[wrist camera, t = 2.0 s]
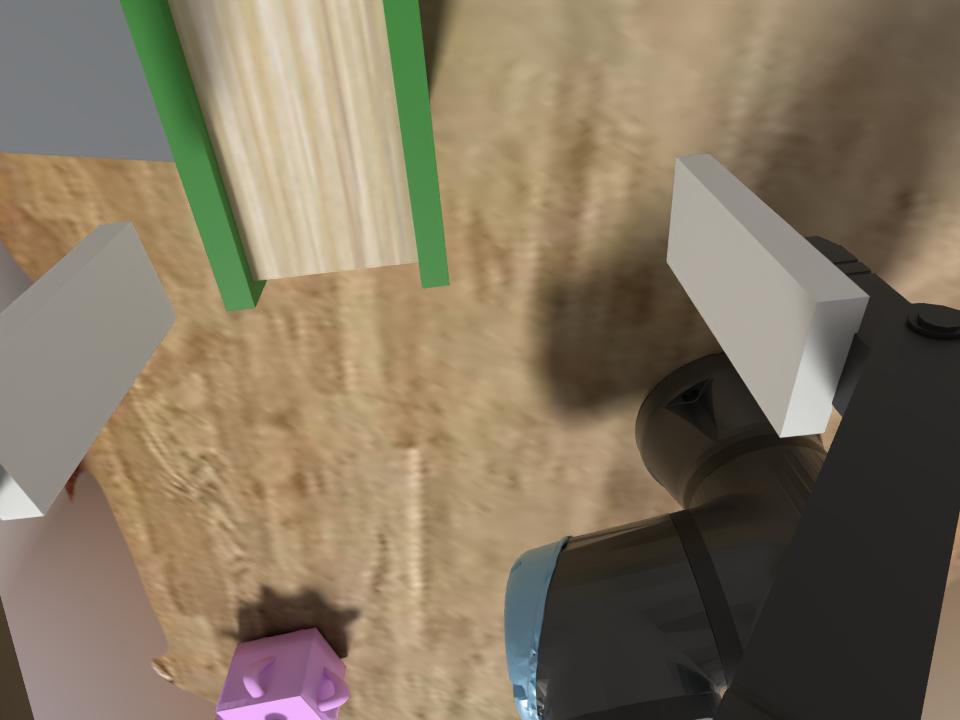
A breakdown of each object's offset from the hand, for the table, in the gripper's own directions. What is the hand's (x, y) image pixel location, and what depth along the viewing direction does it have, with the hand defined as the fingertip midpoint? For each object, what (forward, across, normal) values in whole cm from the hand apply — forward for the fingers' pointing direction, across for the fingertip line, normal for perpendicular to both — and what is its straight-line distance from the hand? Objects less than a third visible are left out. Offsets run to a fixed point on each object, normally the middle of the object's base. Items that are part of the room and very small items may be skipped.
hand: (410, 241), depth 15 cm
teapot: (+25, +27, +62) cm, 72 cm away
